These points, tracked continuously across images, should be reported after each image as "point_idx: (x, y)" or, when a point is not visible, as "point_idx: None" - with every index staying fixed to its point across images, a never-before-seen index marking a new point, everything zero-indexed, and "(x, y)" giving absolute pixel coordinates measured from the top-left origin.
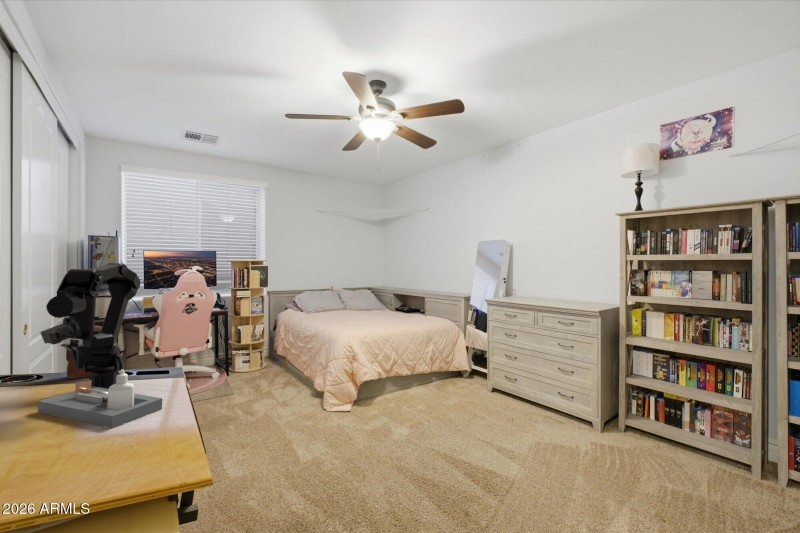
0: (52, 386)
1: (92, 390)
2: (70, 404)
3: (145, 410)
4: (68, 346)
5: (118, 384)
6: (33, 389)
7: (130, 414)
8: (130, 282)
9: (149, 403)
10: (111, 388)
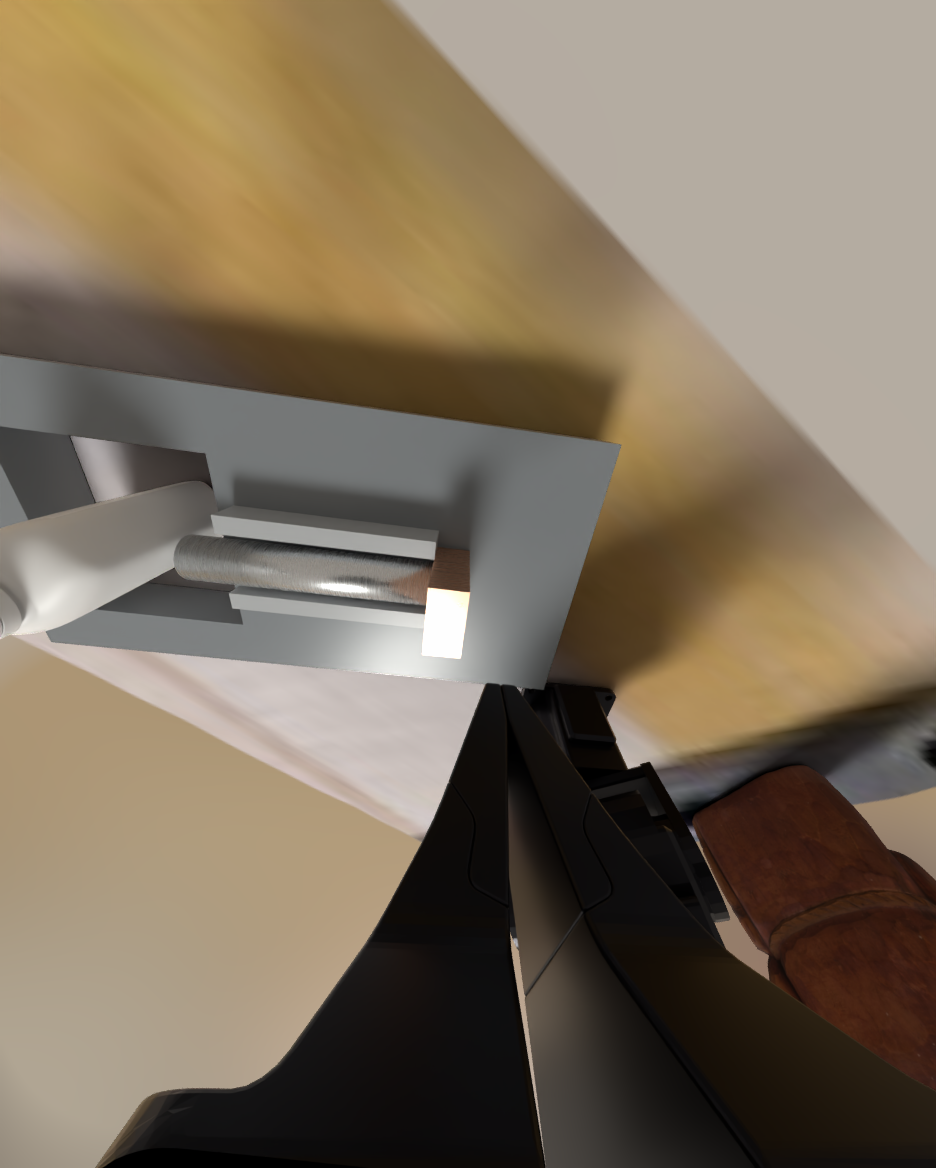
0: (805, 699)
1: (360, 585)
2: (370, 447)
3: None
4: (722, 1151)
5: None
6: (865, 660)
7: None
8: None
9: None
10: (11, 527)
